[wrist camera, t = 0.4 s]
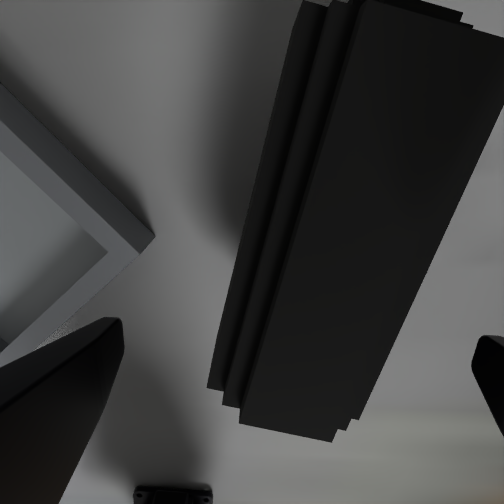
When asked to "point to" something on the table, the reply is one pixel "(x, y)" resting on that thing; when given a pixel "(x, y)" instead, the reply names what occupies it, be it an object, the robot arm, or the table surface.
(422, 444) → the table surface
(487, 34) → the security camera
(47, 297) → the case
